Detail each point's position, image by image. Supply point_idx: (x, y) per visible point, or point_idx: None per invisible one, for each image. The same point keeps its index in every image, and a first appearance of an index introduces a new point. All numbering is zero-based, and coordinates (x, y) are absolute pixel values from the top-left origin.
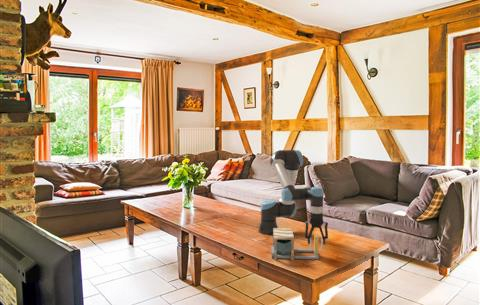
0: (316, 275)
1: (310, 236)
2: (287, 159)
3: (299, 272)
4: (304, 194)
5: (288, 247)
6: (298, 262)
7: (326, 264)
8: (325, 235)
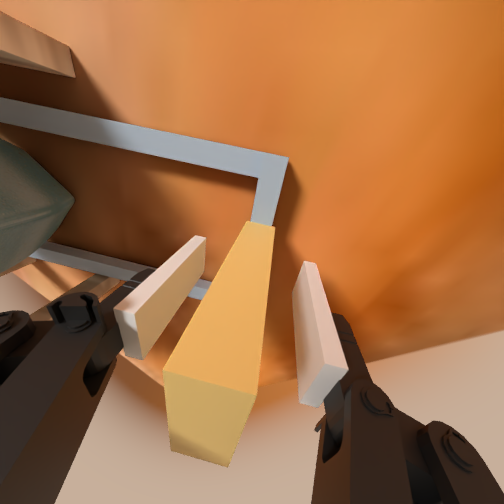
0: None
1: (86, 412)
2: None
3: (149, 372)
4: None
5: (5, 253)
6: None
7: (267, 351)
8: (444, 501)
